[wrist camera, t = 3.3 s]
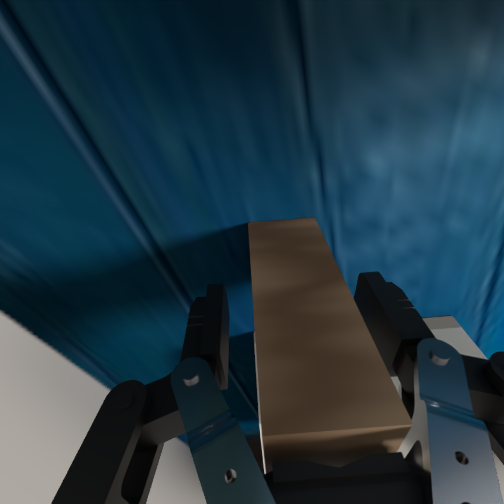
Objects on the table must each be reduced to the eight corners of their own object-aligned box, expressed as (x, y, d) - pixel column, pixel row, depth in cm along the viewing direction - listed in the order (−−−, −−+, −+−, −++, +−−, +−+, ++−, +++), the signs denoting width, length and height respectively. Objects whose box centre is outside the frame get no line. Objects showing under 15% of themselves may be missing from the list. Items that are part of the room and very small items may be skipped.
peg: (314, 217, 15) (412, 424, 6) (310, 269, 17) (382, 476, 8) (247, 222, 15) (261, 436, 6) (252, 274, 17) (267, 485, 8)
